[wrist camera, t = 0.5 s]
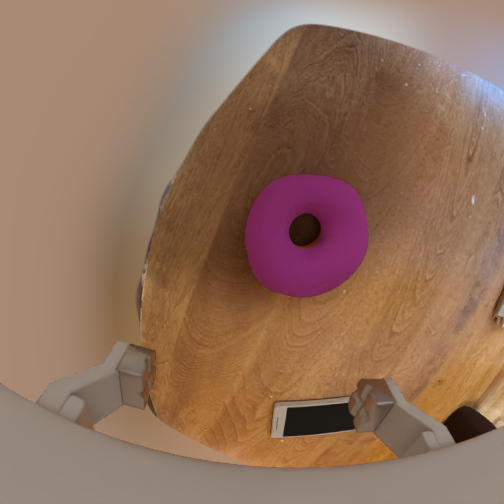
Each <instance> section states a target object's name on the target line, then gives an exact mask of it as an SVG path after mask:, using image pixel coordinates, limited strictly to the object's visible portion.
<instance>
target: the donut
mask: <svg viewBox="0 0 504 504" xmlns="http://www.w3.org/2000/svg"><path fill="white" fill-rule="evenodd" d="M305 213H308V214H312V215H314V216H315V217H316V218H317V219H318V221H319V222H320V226H321V230H320V234H319V236H318V237H317V238H316V239H315V240H314V241H313V242H312V243H310V244H308V245H306V246H297V245H295V244H293V242H292V241H291V239H290V237H289V227H290V225H291V223H292V221H293V220H294V219H295V218H296V217H298V216H299V215H301V214H305ZM367 247H368V223H367V216H366V212H365V209H364V205H363V203H362V200H361V199H360V197H359V195H358V193H357V192H356V191H355V190H354V189H353V188H352V187H351V186H350V185H349V184H348V183H346V182H344V181H342V180H340V179H337V178H333V177H329V176H322V175H306V174H298V175H290V176H285V177H282V178H279V179H276V180H274V181H272V182H271V183H270V184H269V185H267V186H266V187H265V188H264V189H263V190H262V191H261V192H260V193H259V195H258V196H257V198H256V199H255V201H254V202H253V205H252V207H251V209H250V212H249V215H248V219H247V226H246V233H245V248H246V249H247V250H248V260H249V264H250V267H251V269H252V271H253V273H254V275H255V277H256V278H257V279H258V281H259V282H260V283H261V284H263V285H264V286H265V287H266V288H268V289H269V290H271V291H273V292H277V293H280V294H283V295H287V296H290V297H301V298H302V297H312V296H316V295H320V294H323V293H325V292H328V291H330V290H332V289H334V288H336V287H338V286H339V285H341V284H342V283H343V282H345V281H346V280H347V279H348V278H349V277H350V276H351V275H352V274H353V273H354V272H355V271H356V270H357V268H358V267H359V266H360V264H361V262H362V261H363V259H364V257H365V254H366V251H367Z"/></svg>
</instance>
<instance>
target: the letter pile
mask: <svg viewBox="0 0 504 504" xmlns="http://www.w3.org/2000/svg"><path fill="white" fill-rule="evenodd" d="M493 317H497V321H496V324H497V325H498V324H501V325H500V327H501V328H503V327H504V290H503V292H502V295H501V297H500V300H499V302H498V304H497V307H496V309H495V311H494V313H493Z"/></svg>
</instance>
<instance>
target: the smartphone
mask: <svg viewBox="0 0 504 504" xmlns="http://www.w3.org/2000/svg"><path fill="white" fill-rule="evenodd" d="M349 398H350V397H342V398H333V399H322V400H310V401H293V402H276V403H274V410H273V419H272V428H271V437H272V438H284V437H301V436H313V435H322V434H331V433H339V432H346V431H352V430H356V429H355V426H354V423H353V420H354V418H355V417H354V416H353V415H351V414H350V412H349V407H348V403H349Z"/></svg>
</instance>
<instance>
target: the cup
mask: <svg viewBox="0 0 504 504" xmlns="http://www.w3.org/2000/svg"><path fill="white" fill-rule="evenodd" d="M444 426H446V427H447V429H448V431H449V433H450V434H451V436H452V438H453V440H454V441H455V443H456V444H457V443H460V442H463V441H466V440H469V439H472V438H474V437H477V436H480V435H482V434H485V433H487V432H490V431H492V430H495V429H497V428H496V427H495V426H494V425H493V424H492V423H491V422H490V421H489V420H488V419H486V418H485V417H484V416H483V415H481V414H480V413H479V412H477V411H476V410H474V409H472V408H471V407H462V408H459V409H458V410H456V411H455V412H454V413H453V414H452V415H451V416H450V418H449V419H448V420H447V421H446V422H445V424H444Z"/></svg>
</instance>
